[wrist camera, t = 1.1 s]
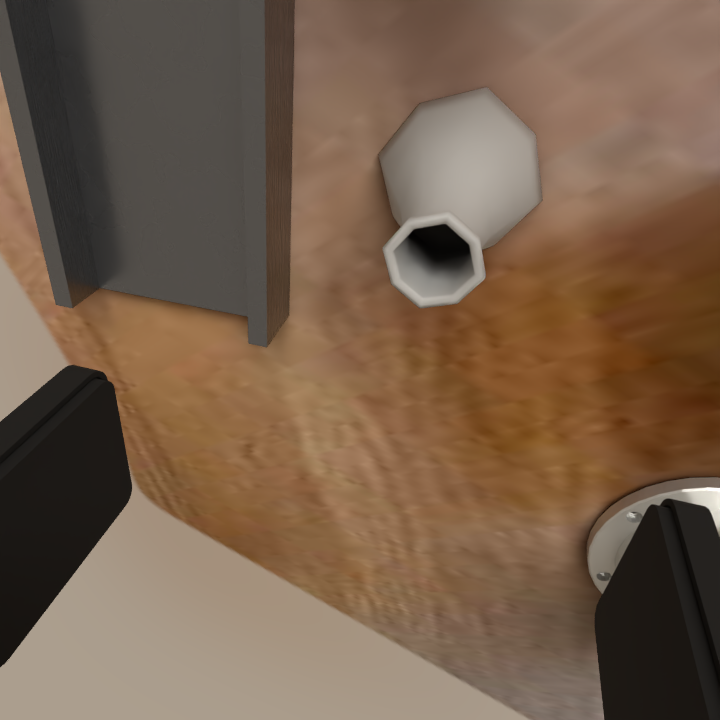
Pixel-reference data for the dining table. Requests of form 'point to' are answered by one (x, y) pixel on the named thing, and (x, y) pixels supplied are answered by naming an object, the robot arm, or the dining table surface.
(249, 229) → the track
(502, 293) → the dining table surface
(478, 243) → the flask
